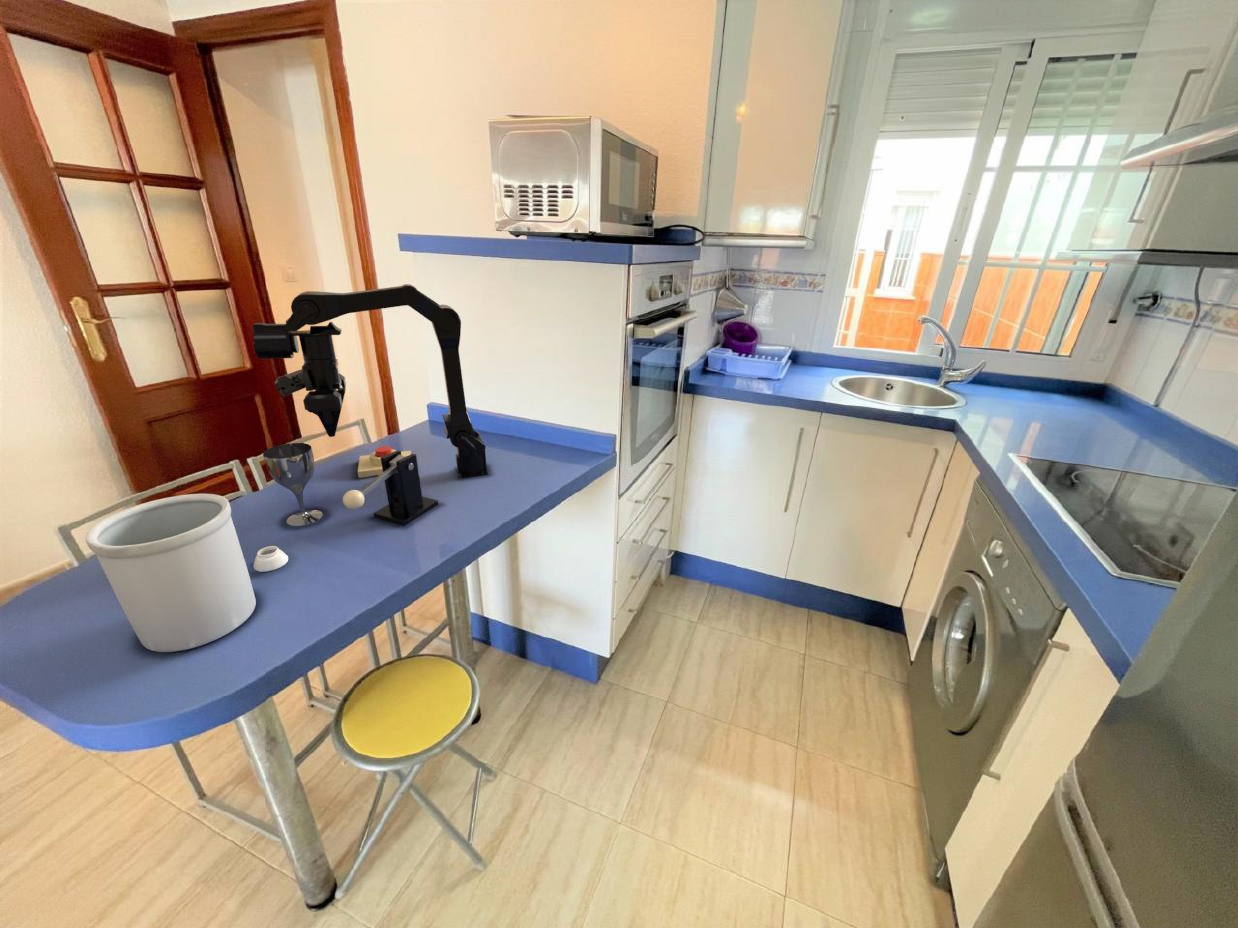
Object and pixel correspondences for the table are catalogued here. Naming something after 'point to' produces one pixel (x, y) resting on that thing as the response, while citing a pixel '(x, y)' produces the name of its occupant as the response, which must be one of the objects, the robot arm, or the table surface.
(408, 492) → the bracket
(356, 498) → the lever
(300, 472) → the wine glass
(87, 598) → the table surface
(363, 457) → the button box
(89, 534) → the utensil holder
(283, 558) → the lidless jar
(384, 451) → the button
